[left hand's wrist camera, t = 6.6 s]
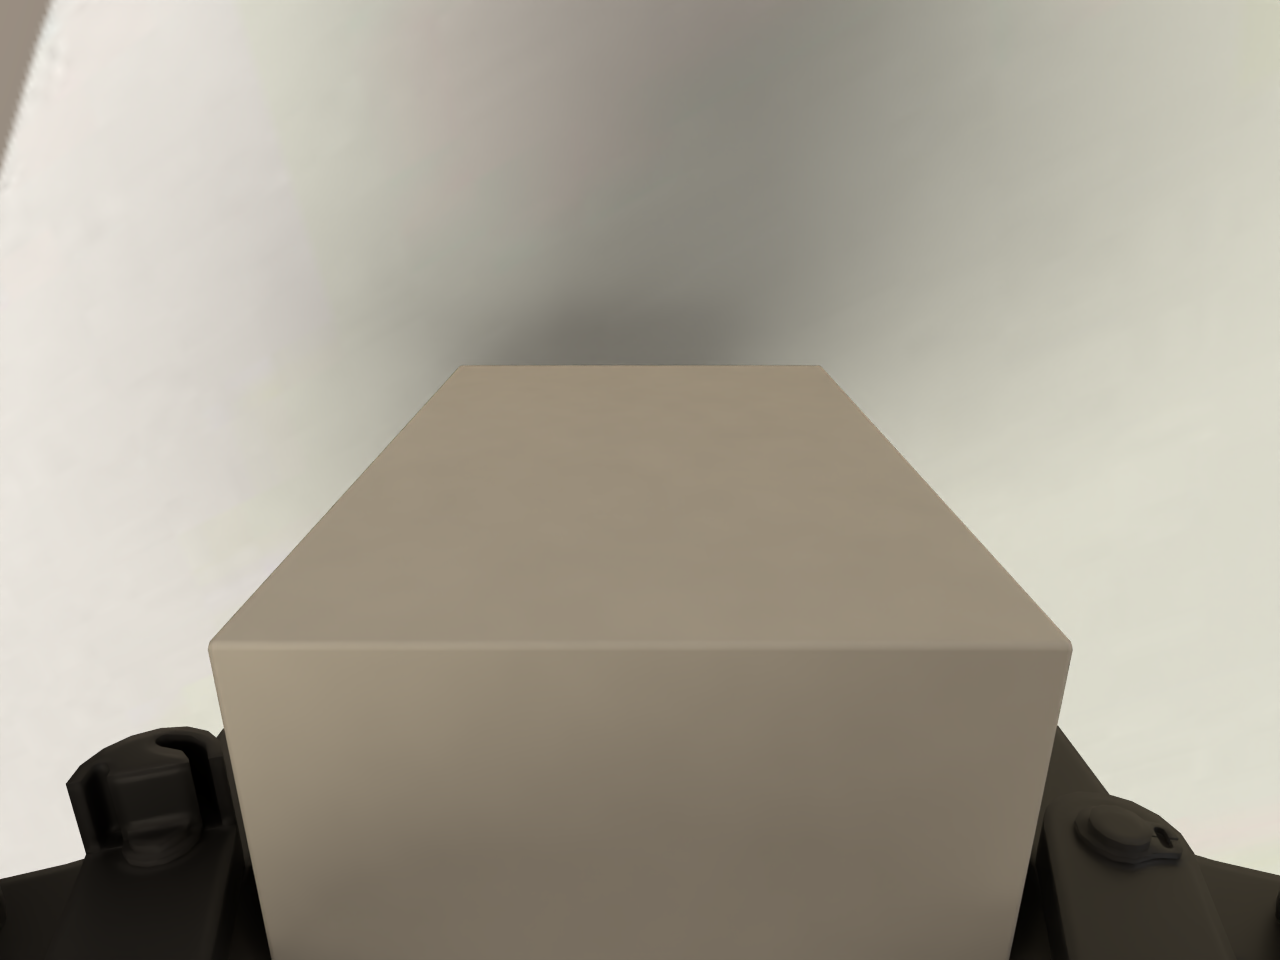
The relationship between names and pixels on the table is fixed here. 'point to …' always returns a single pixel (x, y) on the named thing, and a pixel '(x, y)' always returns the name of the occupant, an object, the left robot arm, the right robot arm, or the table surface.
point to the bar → (640, 687)
